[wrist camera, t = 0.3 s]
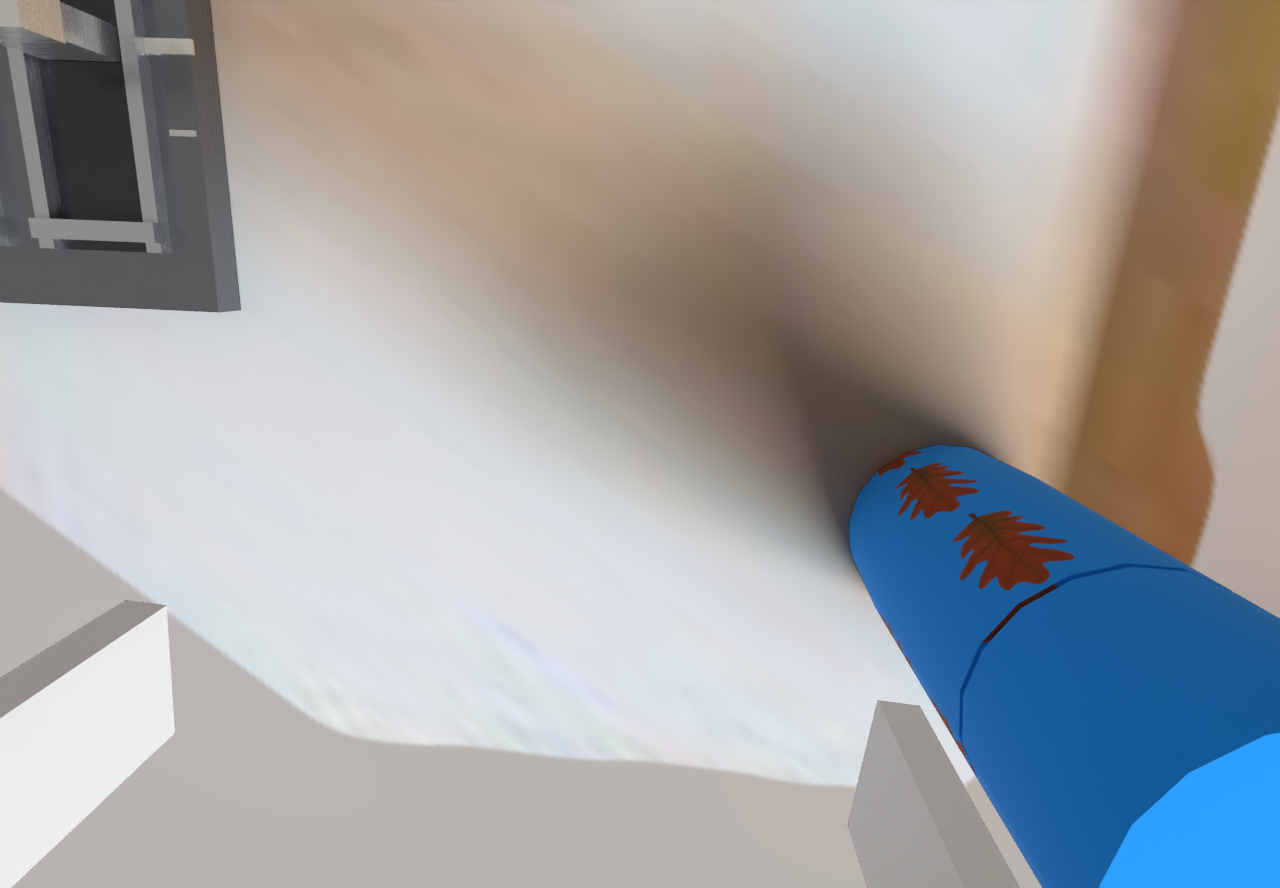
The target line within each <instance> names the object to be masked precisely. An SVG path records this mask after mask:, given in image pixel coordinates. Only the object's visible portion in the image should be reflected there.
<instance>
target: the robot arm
mask: <svg viewBox="0 0 1280 888" xmlns="http://www.w3.org/2000/svg"><path fill="white" fill-rule="evenodd" d="M167 622H168V621H167V605H159V604H152V603H144V602H137V601H129V600H125V601H123V602H122V603H120V604H118V605H117V606H116V607H114V608H112V609H111V610H109V611H107V612H106V613H104V614H102V615H101V616H99V617H98V618H96V619H94V620H93V621H91V622H90V623H88V624H86V625H85V626H83V627H82V628H80V629H78V630H77V631H75V632H73V633H72V634H70V635H68V636H67V637H65V638H64V639H62V640H60V641H59V642H57V643H56V644H54V645H52V646H51V647H49V648H47V649H46V650H44V651H42V652H41V653H39V654H38V655H36V656H34V657H33V658H31V659H30V660H28V661H26V662H25V663H23V664H21V665H20V666H19V667H17V668H15V669H13V670H12V671H10V672H8V673H7V674H5V675H4V676H2V677H1V678H0V888H11V887H12V886H13V885H14V884H15V883H16V882H17V881H19V879H21V878H22V877H23V876H24V875H25V874H26V873H27V872H28V871H29V870H30V869H31V868H32V867H33V866H34V865H35V864H36V863H38V862H39V861H40V859H42V858H43V857H44V856H45V855H46V854H47V853H48V852H49V851H50V850H51V849H52V848H53V847H54V846H56V845H57V844H58V843H59V842H60V841H61V840H62V839H63V838H64V837H65V836H66V835H67V834H68V833H69V832H70V831H71V830H72V829H73V828H75V827H76V826H77V825H78V824H79V823H80V822H81V821H82V820H83V819H84V818H85V817H86V816H87V815H88V814H89V813H90V812H92V810H94V809H95V808H96V807H97V806H98V805H99V804H100V803H101V802H102V801H103V800H104V799H105V798H106V797H107V796H108V795H110V794H111V793H112V792H113V791H114V790H115V789H116V788H117V787H118V786H119V785H120V784H121V783H122V782H123V781H124V780H125V779H126V778H128V777H129V776H130V775H131V774H132V773H133V772H134V771H135V770H136V769H137V768H138V767H139V766H140V765H141V764H142V763H143V762H144V761H146V760H147V759H148V758H149V757H150V756H151V755H152V754H153V753H154V752H155V751H156V750H157V749H158V748H159V747H160V746H161V745H162V744H164V743H165V742H166V741H167V739H169V738H170V737H171V736H172V735H173V734H174V733H175V730H174V714H173V699H172V683H171V667H170V652H169V637H168V623H167ZM848 827H849V831H850V834H851V837H852V840H853V844H854V847H855V850H856V853H857V857H858V860H859V863H860V866H861V870H862V873H863V876H864V879H865V882H866V886H867V888H1020V887H1019V885H1018V883H1017V881H1016V880H1015V878H1014V876H1013V874H1012V872H1011V870H1010V869H1009V867H1008V865H1007V863H1006V861H1005V860H1004V858H1003V856H1002V854H1001V852H1000V851H999V849H998V847H997V845H996V843H995V841H994V840H993V838H992V836H991V834H990V832H989V831H988V829H987V827H986V825H985V823H984V822H983V820H982V818H981V817H980V814H979V813H978V811H977V809H976V807H975V805H974V803H973V802H972V800H971V798H970V796H969V794H968V792H967V791H966V789H965V787H964V785H963V783H962V782H961V780H960V778H959V776H958V774H957V773H956V771H955V769H954V767H953V765H952V763H951V762H950V760H949V758H948V756H947V754H946V753H945V751H944V749H943V747H942V745H941V744H940V742H939V740H938V738H937V736H936V734H935V733H934V731H933V729H932V727H931V725H930V724H929V722H928V720H927V718H926V716H925V715H924V713H923V711H922V709H921V707H920V706H917V705H909V704H902V703H894V702H887V701H879V700H877V705H876V709H875V713H874V717H873V721H872V725H871V729H870V734H869V738H868V742H867V746H866V750H865V754H864V758H863V763H862V767H861V771H860V775H859V779H858V783H857V788H856V792H855V796H854V800H853V804H852V809H851V813H850V817H849V821H848Z"/></svg>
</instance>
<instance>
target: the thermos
mask: <svg viewBox="0 0 1280 888" xmlns="http://www.w3.org/2000/svg"><path fill="white" fill-rule="evenodd" d="M849 548H850V552H851V555H852V557H853V559H854V562H855V564H856V566H857V569H858V571H859V573H860V575H861V578H862V580H863V582H864V584H865V586H866V588H867V590H868V593H869V595H870V597H871V599H872V601H873V603H874V606H875V608H876V609H877V611H878V613H879V614H880V616H881V618H882V619H883V621H884V623H885V624H886V626H887V628H888V629H889V631H890V633H891V635H892V636H893V638H894V640H895V641H896V643H897V645H898V646H899V648H900V650H901V651H902V653H903V655H904V656H905V658H906V660H907V661H908V663H909V665H910V666H911V668H912V670H913V671H914V673H915V675H916V676H917V678H918V680H919V681H920V683H921V685H922V687H923V688H924V690H925V692H926V693H927V695H928V697H929V698H930V700H931V702H932V703H933V705H934V707H935V708H936V710H937V712H938V713H939V715H940V717H941V718H942V720H943V722H944V723H945V725H946V727H947V728H948V730H949V732H950V733H951V735H952V737H953V739H954V740H955V742H956V744H957V745H958V747H959V749H960V750H961V752H962V754H963V755H964V757H965V759H966V760H967V762H968V764H969V765H970V767H971V769H972V770H973V772H974V774H975V775H976V777H977V778H978V780H979V782H980V784H981V785H982V787H983V789H984V790H985V792H986V794H987V796H988V797H989V799H990V801H991V802H992V804H993V805H994V807H995V809H996V811H997V812H998V814H999V816H1000V817H1001V819H1002V821H1003V822H1004V824H1005V826H1006V827H1007V829H1008V831H1009V832H1010V834H1011V836H1012V837H1013V839H1014V841H1015V842H1016V844H1017V846H1018V848H1019V849H1020V851H1021V853H1022V854H1023V856H1024V858H1025V859H1026V861H1027V862H1028V864H1029V866H1030V868H1031V869H1032V871H1033V873H1034V874H1035V876H1036V878H1037V879H1038V881H1039V883H1040V884H1041V886H1042V888H1280V618H1278V617H1276V616H1274V615H1272V614H1271V613H1269V612H1267V611H1266V610H1264V609H1262V608H1260V607H1259V606H1257V605H1255V604H1253V603H1252V602H1250V601H1248V600H1246V599H1245V598H1243V597H1241V596H1239V595H1238V594H1236V593H1234V592H1232V591H1231V590H1229V589H1227V588H1226V587H1224V586H1222V585H1221V584H1219V583H1217V582H1215V581H1214V580H1212V579H1210V578H1208V577H1207V576H1205V575H1203V574H1201V573H1200V572H1198V571H1196V570H1195V569H1193V568H1191V567H1189V566H1188V565H1186V564H1184V563H1182V562H1181V561H1179V560H1177V559H1176V558H1174V557H1172V556H1170V555H1169V554H1167V553H1165V552H1163V551H1162V550H1160V549H1158V548H1156V547H1155V546H1153V545H1151V544H1150V543H1148V542H1146V541H1144V540H1143V539H1141V538H1139V537H1137V536H1136V535H1134V534H1132V533H1130V532H1129V531H1127V530H1125V529H1124V528H1122V527H1120V526H1118V525H1117V524H1115V523H1113V522H1111V521H1110V520H1108V519H1106V518H1105V517H1103V516H1101V515H1099V514H1098V513H1096V512H1094V511H1092V510H1091V509H1089V508H1087V507H1085V506H1084V505H1082V504H1080V503H1079V502H1077V501H1075V500H1073V499H1072V498H1070V497H1068V496H1066V495H1065V494H1063V493H1061V492H1059V491H1058V490H1056V489H1054V488H1053V487H1051V486H1049V485H1047V484H1046V483H1044V482H1042V481H1040V480H1039V479H1037V478H1035V477H1033V476H1031V475H1029V474H1027V473H1025V472H1023V471H1020V470H1018V469H1016V468H1014V467H1012V466H1010V465H1008V464H1006V463H1003V462H1001V461H999V460H997V459H995V458H992V457H990V456H988V455H986V454H984V453H981V452H979V451H977V450H975V449H973V448H970V447H961V446H949V445H934V446H930V447H926V448H922V449H918V450H914V451H910V452H906V453H905V454H903V455H901V456H900V457H898V458H897V459H895V460H893V461H892V462H890V463H889V464H887V465H885V466H884V467H882V468H881V469H879V470H878V471H877V472H876V474H875V475H874V476H873V477H872V478H871V480H870V481H869V482H868V483H867V485H866V486H865V487H864V488H863V489H862V491H861V492H860V493H859V495H858V498H857V501H856V503H855V506H854V509H853V512H852V514H851V517H850V520H849Z"/></svg>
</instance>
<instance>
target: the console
mask: <svg viewBox="0 0 1280 888" xmlns="http://www.w3.org/2000/svg"><path fill="white" fill-rule="evenodd" d="M60 2H62V3H64V4H67V5H69V6H71V7H74V8H76V9H78V10H80V11H83V12H85V13H87V14H90V15H92V16H94V17H97V18H99V19H101V20H103V21H106V22H108V23H110V24H113V25H115V26H117V33H118V41H119V48H120V56H121V62H108V61H77V60H47V59H41V58H38V57H35V56H32V55H29V54H26V53H23V52H20V51H17V50H14V49H11V48H8V47H5V46H2V45H0V302H6V303H28V304H50V305H71V306H93V307H115V308H137V309H159V310H181V311H203V312H226V311H237V310H241V306H240V296H239V286H238V276H237V266H236V256H235V246H234V236H233V226H232V216H231V206H230V196H229V186H228V176H227V166H226V156H225V146H224V136H223V126H222V116H221V106H220V96H219V86H218V76H217V65H216V55H215V45H214V35H213V25H212V15H211V5H210V0H60Z"/></svg>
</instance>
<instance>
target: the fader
mask: <svg viewBox="0 0 1280 888" xmlns="http://www.w3.org/2000/svg"><path fill="white" fill-rule="evenodd" d="M0 45H2V46H5V47H8V48H11V49H14V50H17V51H20V52H23V53H26V54H29V55H32V56H35V57H38V58H41V59H47V60H77V61H108V62H121V56H120V48H119V41H118V33H117V26H115V25H113V24H110V23H108V22H106V21H103V20H101V19H99V18H97V17H94V16H92V15H90V14H87V13H85V12H83V11H80V10H78V9H76V8H74V7H71V6H69V5H67V4H64V3H62V2H60V0H0Z"/></svg>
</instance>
